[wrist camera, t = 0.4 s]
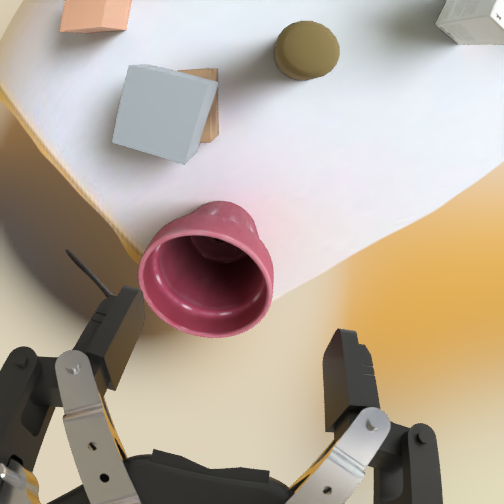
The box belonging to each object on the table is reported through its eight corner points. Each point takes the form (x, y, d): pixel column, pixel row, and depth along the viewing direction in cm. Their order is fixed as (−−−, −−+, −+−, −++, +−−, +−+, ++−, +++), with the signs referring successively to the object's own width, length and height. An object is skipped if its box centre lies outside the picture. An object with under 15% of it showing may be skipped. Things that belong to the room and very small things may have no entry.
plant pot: (239, 160, 37) (218, 204, 26) (295, 248, 42) (297, 314, 32) (152, 214, 42) (111, 268, 31) (211, 286, 48) (191, 351, 37)
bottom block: (152, 73, 31) (136, 75, 28) (218, 68, 31) (209, 68, 27) (156, 135, 36) (141, 144, 32) (218, 134, 35) (210, 142, 31)
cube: (94, -8, 25) (68, -14, 20) (134, -13, 25) (111, -22, 20) (87, 33, 28) (59, 32, 23) (126, 30, 28) (101, 26, 23)
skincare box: (459, 46, 25) (518, 47, 15) (433, 24, 24) (488, 15, 14) (475, 14, 21) (533, 8, 11) (449, -8, 21) (504, -23, 11)
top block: (148, 64, 27) (128, 65, 23) (219, 82, 28) (208, 84, 24) (131, 132, 31) (111, 142, 28) (196, 152, 32) (184, 164, 28)
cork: (264, 66, 30) (256, 64, 21) (287, 22, 27) (289, 1, 18) (314, 89, 31) (327, 97, 22) (337, 45, 28) (360, 36, 19)
